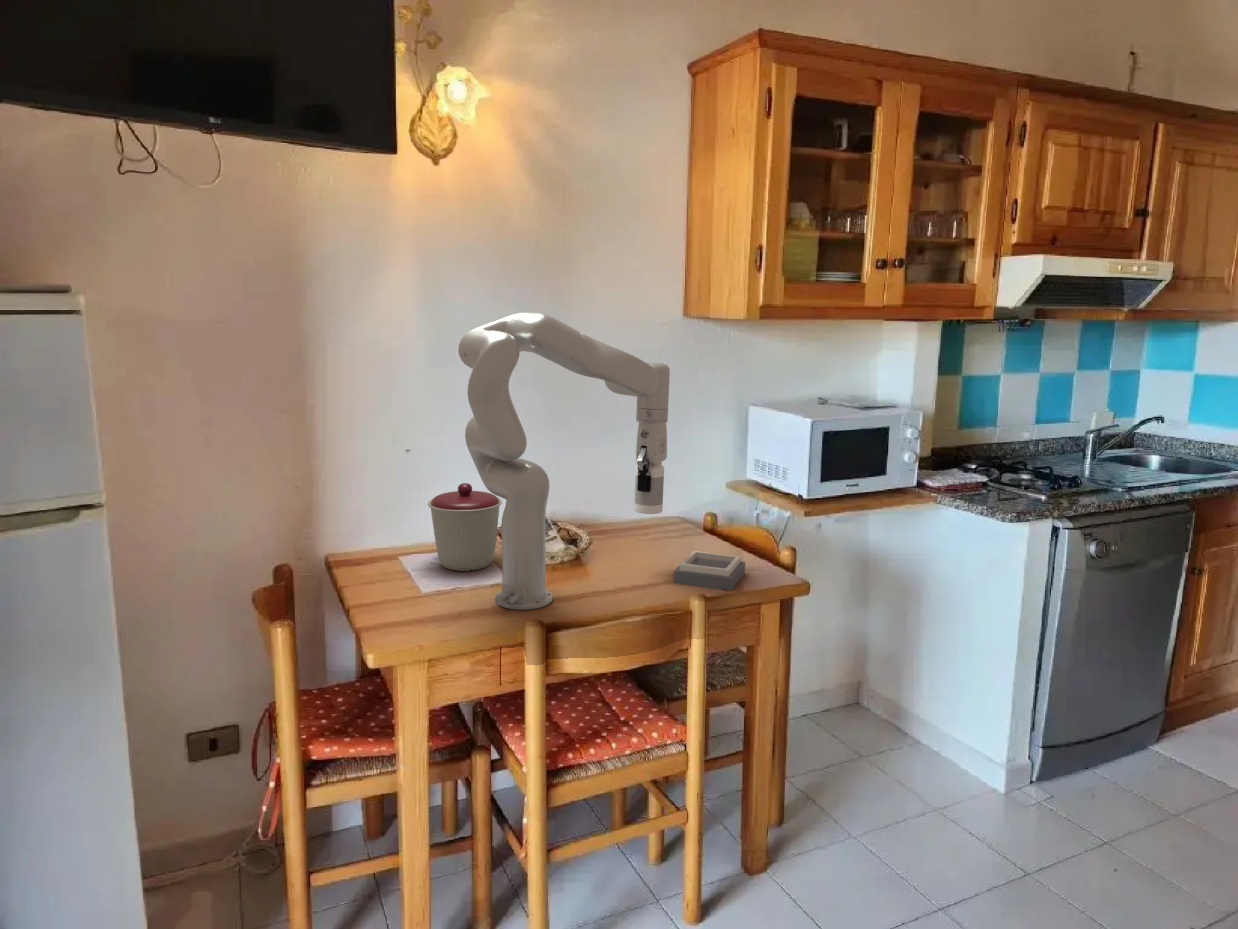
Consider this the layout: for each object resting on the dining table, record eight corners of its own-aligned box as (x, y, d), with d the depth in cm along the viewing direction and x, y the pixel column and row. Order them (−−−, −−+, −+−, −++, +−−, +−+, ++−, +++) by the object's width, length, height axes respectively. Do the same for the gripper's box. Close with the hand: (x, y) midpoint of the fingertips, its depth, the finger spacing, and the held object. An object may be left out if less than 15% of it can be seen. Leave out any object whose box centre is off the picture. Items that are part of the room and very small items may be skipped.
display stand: (731, 590, 198) (732, 572, 197) (673, 582, 202) (674, 564, 202) (744, 573, 210) (745, 555, 210) (690, 566, 215) (690, 549, 214)
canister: (416, 563, 214) (413, 482, 210) (477, 550, 226) (476, 473, 222) (453, 581, 201) (451, 495, 197) (516, 567, 213) (516, 484, 209)
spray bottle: (630, 512, 204) (633, 438, 201) (638, 507, 211) (641, 435, 208) (658, 515, 202) (661, 441, 199) (665, 509, 209) (668, 437, 206)
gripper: (655, 420, 193) (652, 497, 196) (677, 412, 209) (674, 483, 212) (624, 417, 196) (621, 493, 199) (649, 410, 212) (646, 480, 215)
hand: (649, 488), depth 206 cm, fingers closed on spray bottle, 6 cm apart
